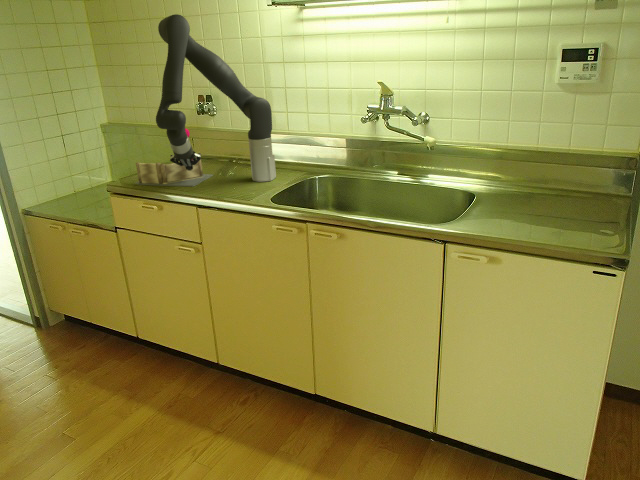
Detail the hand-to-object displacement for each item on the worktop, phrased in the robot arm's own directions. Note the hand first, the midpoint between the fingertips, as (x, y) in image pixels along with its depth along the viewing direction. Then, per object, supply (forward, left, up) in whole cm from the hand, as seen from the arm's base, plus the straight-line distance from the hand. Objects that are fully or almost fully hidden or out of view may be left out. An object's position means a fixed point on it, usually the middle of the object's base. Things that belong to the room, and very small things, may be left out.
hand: (190, 168), depth 229 cm
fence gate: (+3, +1, -4) cm, 5 cm away
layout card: (+8, 0, -5) cm, 10 cm away
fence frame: (+15, +7, -5) cm, 17 cm away
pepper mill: (+13, -21, -5) cm, 26 cm away
